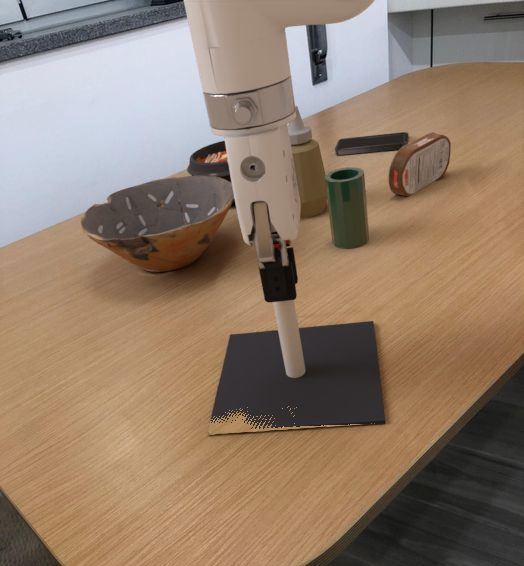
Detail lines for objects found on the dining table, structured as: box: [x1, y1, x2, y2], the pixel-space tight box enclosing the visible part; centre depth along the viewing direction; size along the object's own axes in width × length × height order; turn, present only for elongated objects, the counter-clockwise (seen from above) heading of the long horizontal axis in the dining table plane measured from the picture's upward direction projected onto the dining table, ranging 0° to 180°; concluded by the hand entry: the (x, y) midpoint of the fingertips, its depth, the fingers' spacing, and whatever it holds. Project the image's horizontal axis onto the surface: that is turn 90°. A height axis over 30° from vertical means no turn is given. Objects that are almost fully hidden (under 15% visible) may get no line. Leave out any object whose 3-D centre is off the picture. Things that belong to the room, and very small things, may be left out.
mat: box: [209, 320, 386, 429], centre depth 68 cm, size 18×18×1 cm
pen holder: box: [325, 167, 370, 250], centre depth 89 cm, size 6×6×11 cm
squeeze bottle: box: [288, 105, 328, 219], centre depth 100 cm, size 8×8×18 cm
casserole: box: [186, 140, 235, 202], centre depth 118 cm, size 25×19×8 cm
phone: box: [334, 131, 410, 156], centre depth 128 cm, size 8×1×15 cm
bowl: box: [79, 175, 235, 273], centre depth 96 cm, size 25×25×10 cm
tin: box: [388, 132, 452, 197], centre depth 103 cm, size 15×3×8 cm, turn 133°
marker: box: [272, 244, 306, 378], centre depth 63 cm, size 2×2×16 cm
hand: (281, 290), depth 61 cm, fingers closed on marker, 2 cm apart
